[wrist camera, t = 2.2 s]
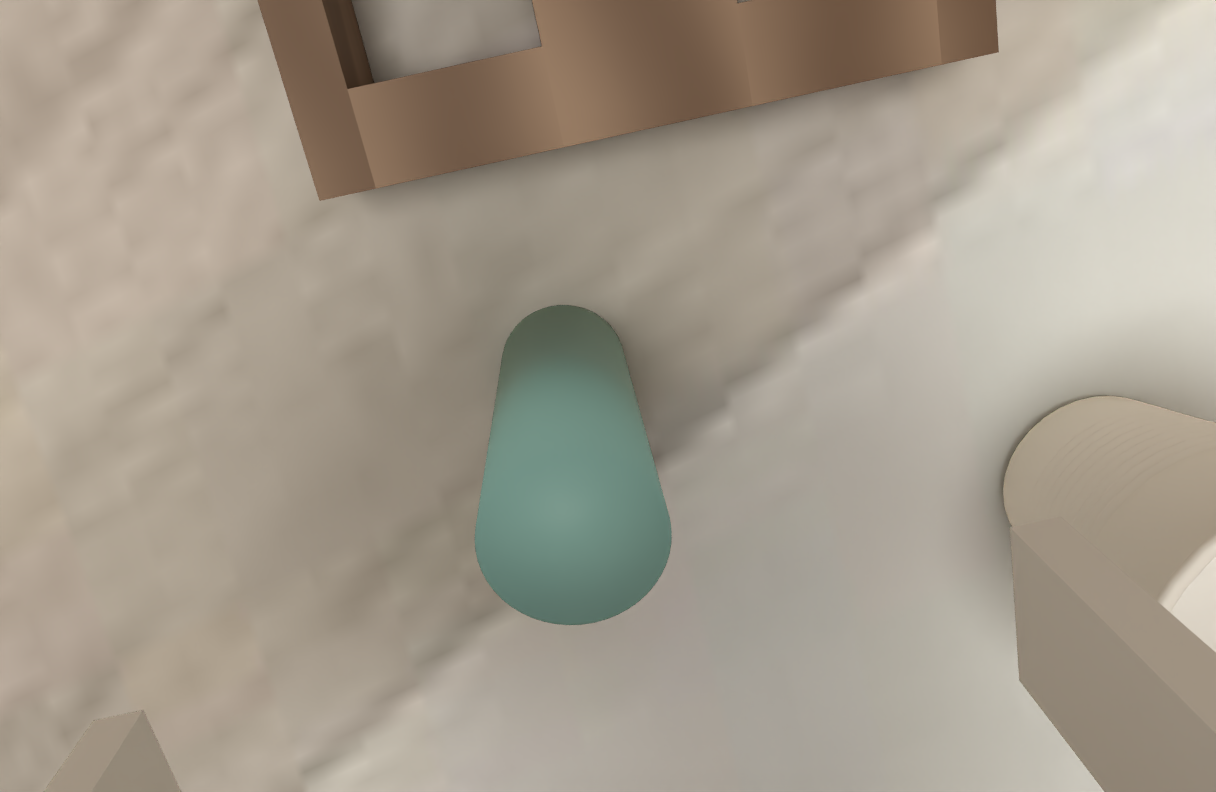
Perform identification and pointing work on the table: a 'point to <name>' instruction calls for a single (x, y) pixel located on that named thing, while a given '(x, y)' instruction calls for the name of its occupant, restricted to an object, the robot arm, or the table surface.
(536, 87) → the socket block
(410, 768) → the table surface
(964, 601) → the table surface
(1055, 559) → the robot arm
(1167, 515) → the cup
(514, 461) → the plug
